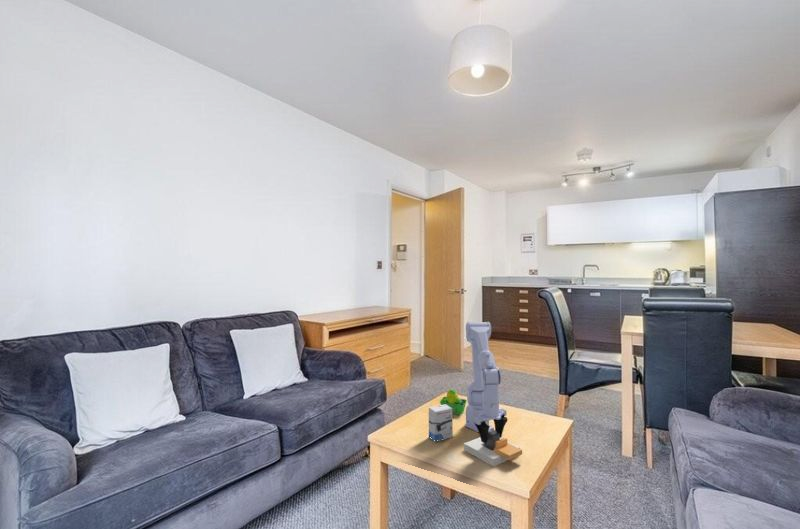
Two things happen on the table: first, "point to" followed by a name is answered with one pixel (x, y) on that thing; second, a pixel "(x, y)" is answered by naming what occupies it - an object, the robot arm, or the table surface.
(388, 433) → the table surface
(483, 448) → the socket
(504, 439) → the tan slab
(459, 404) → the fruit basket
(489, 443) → the plug
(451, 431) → the ink box
